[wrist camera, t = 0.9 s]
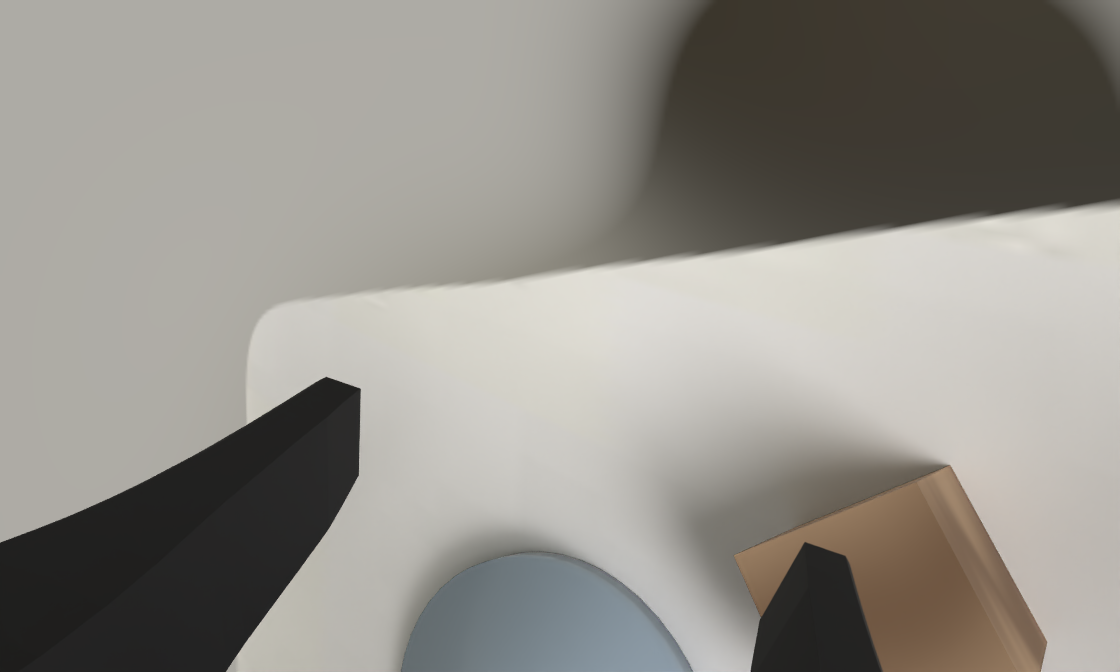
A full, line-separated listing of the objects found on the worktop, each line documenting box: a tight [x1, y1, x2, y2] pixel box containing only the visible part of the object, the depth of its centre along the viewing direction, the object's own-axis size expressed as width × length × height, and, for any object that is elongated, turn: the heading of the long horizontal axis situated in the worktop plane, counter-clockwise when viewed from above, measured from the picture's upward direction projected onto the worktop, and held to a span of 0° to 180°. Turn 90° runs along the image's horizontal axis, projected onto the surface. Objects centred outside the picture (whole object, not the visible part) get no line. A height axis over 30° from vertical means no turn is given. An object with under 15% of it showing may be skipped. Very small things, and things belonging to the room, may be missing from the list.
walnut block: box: [734, 466, 1047, 672], centre depth 19 cm, size 4×4×4 cm
